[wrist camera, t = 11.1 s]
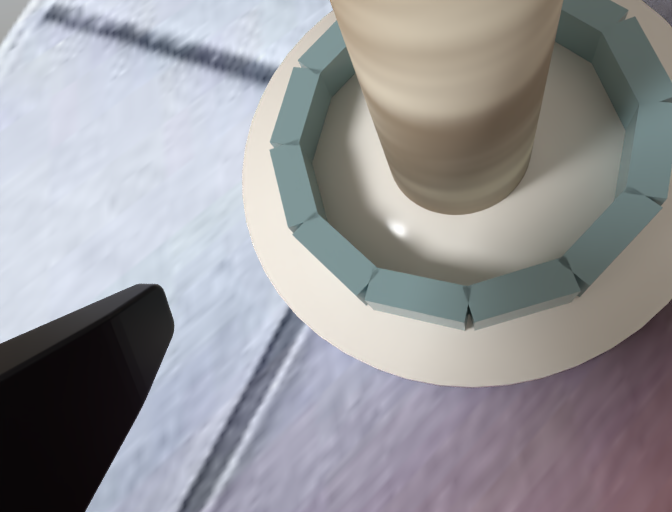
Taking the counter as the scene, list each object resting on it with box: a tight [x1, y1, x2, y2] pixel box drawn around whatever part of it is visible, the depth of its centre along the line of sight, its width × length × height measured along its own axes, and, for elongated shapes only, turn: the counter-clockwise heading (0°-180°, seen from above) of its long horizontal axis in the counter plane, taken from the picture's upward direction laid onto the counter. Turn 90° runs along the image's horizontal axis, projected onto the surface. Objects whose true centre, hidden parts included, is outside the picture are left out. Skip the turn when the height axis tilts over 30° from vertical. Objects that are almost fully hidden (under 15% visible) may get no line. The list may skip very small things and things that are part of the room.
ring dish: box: [242, 0, 672, 388], centre depth 17 cm, size 15×15×2 cm
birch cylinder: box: [330, 0, 563, 215], centre depth 12 cm, size 4×4×12 cm
